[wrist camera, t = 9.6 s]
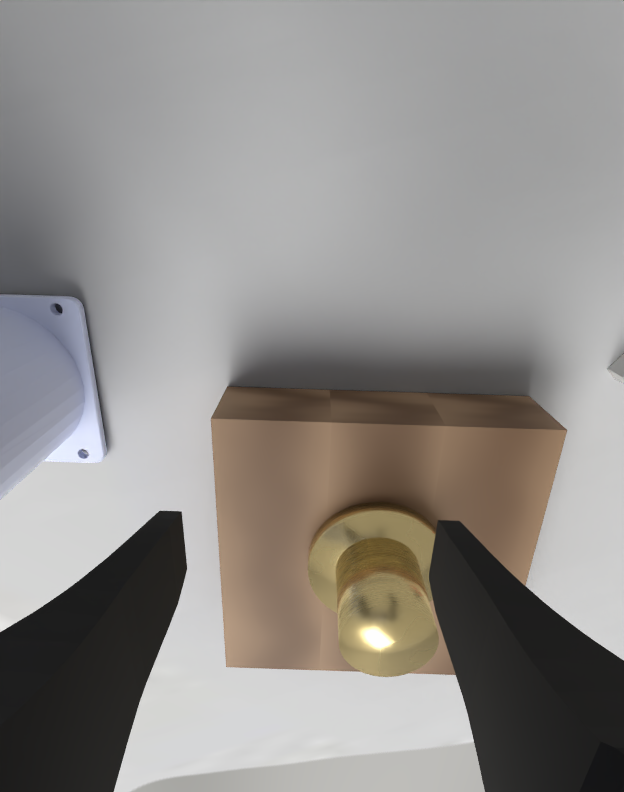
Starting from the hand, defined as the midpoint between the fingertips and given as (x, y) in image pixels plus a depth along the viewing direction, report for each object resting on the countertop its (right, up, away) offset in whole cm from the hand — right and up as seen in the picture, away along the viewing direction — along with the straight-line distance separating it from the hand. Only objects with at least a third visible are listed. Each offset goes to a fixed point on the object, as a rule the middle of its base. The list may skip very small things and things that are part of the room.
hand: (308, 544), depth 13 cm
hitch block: (+3, -2, +11) cm, 12 cm away
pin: (+3, -2, +10) cm, 11 cm away
